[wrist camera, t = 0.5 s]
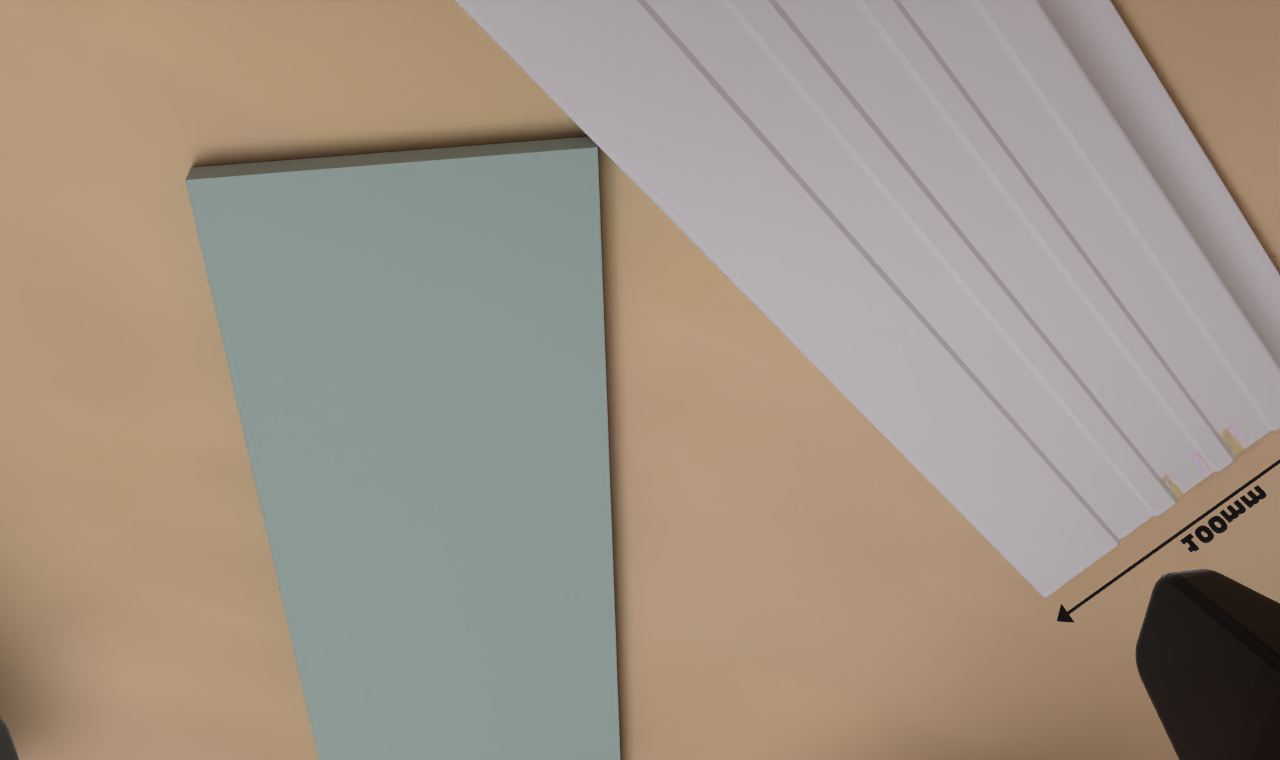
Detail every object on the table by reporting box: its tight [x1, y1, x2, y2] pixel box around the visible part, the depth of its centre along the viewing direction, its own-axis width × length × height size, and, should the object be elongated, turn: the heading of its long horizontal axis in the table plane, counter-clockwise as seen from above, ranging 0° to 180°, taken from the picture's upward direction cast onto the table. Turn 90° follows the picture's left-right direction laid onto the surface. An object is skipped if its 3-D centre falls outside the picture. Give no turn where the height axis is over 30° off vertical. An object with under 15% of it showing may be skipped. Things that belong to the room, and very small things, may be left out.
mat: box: [186, 137, 620, 760], centre depth 25 cm, size 17×7×1 cm, turn 1°
